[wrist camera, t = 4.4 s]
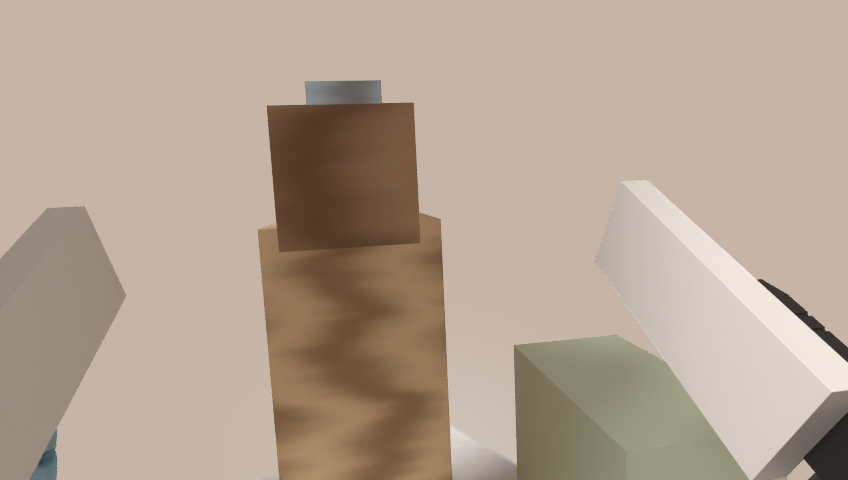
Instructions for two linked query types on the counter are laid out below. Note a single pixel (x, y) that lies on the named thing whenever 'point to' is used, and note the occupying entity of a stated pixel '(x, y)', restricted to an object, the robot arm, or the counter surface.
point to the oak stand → (358, 359)
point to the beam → (344, 169)
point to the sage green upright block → (610, 416)
